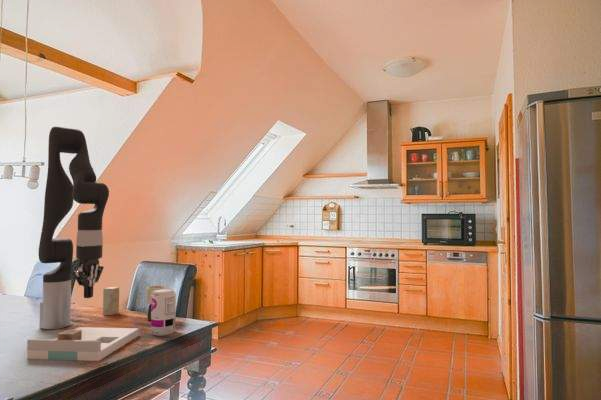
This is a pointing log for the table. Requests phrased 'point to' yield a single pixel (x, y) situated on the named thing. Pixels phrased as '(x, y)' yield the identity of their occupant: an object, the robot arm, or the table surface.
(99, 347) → the board
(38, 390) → the table surface
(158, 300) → the supplement can
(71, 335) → the walnut block
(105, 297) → the box
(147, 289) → the character mug
